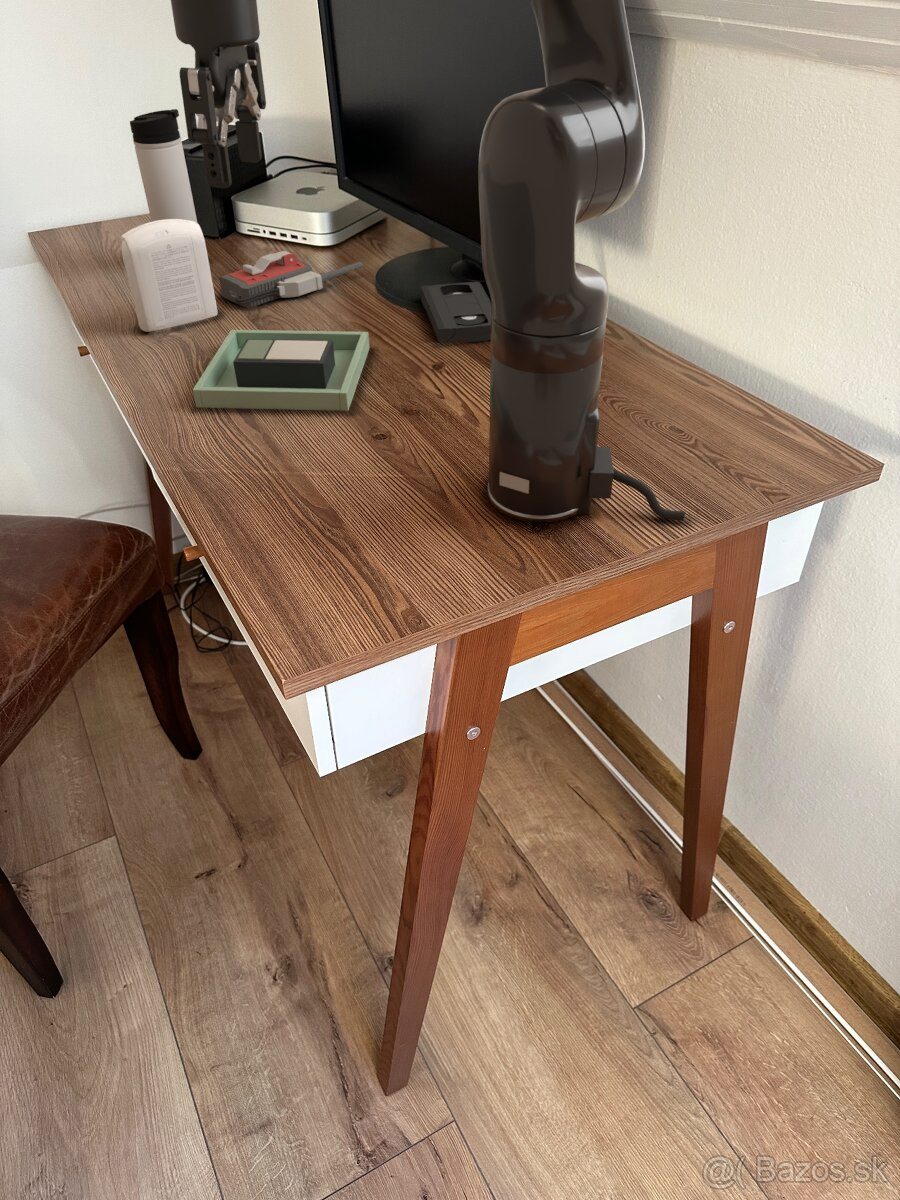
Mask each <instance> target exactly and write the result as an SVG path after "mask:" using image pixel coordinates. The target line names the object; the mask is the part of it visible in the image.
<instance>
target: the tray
mask: <svg viewBox="0 0 900 1200" xmlns="http://www.w3.org/2000/svg"><path fill="white" fill-rule="evenodd" d="M246 339H280V340H333V348H334V357H335V366H334V369H333V372H332V374H331V377H330V379H329V382H328V384H327V387H326V388H279V387H238V386H237V380H236V375H235V370H234V364H233V361H234V359H235V358H236V356H237V354H238V353H239V351H240V349H241V348H242V346H243V344H244V343H245V341H246ZM369 351H370V335H369V332H368V331H342V330H341V331H338V330H337V331H335V330H283V329H282V330H280V329H279V330H277V329H274V330H273V329H230V331H229V333H228V334H227V336H226V337H225V338H224V340H223V342H222V343H221V345H220V346H219V347H218V350H216V353H215V354H214V355H213V357H212V358H211V360H210V362H209V363H208V365H207V367H206V368H205V369H204V371H203V373H202V375H201V376H200V377H199V379H198V381H197V382H196V383H195V385H194V387H193V389H192V394H193V398H194V403H195V407H196V408H205V409H207V408H208V409H209V408H211V409H255V410H256V409H258V410H259V409H260V410H295V411H297V410H300V411H301V410H303V411H304V410H305V411H350V407H351V404H352V402H353V399H354V395H355V392H356V389H357V386H358V384H359V381H360V377H361V375H362V372H363V370H364V366H365V363H366V361H367V358H368V354H369Z"/></svg>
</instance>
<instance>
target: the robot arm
mask: <svg viewBox="0 0 900 1200" xmlns="http://www.w3.org/2000/svg"><path fill="white" fill-rule="evenodd" d="M257 1H258V0H170V6H171V11H172V18H173V23H174V24H173V25H174V31H175V36H176V38H177V40H178V41H180V42H181V43H182V44H185V45H189V46H190V47H192V49H193V50H194V67H180V68H179V82H180V88H181V96H182V104H183V110H184V118H185V125H186V133H187V139H188V141H189V143H192V144H193V143H194V144H198V145H199V146H201V147H202V153H203V154H202V155H203V161H204V168H205V174H206V180H207V181H206V182H207V184H208V186H209V187H210V188H216V189H228V188H230V186H232V184H233V179H232V173H231V165H230V164H231V163H230V157H229V149H228V144H227V141H228V129H229V125H230V124H231V123H233V122H234V119H236V121H235V122H234V126H235V133H236V142H237V147H238V148H237V149H238V157H239V159H240V161H241V162H243V163H250V164H257V163H259V162H260V161H261V160H262V158H263V155H262V146H261V144H262V143H261V136H260V127H259V122H258V121H260V120H261V117H262V112H261V110H265V109H266V107H267V100H266V99H267V98H266V91H265V84H264V83H265V82H264V75H263V74H264V73H263V68H262V67H263V66H262V60H261V59H262V58H261V51H260V45H259V43H258V42H257V41H258V39H259V38H260V35H261V32H260V22H259V13H258V2H257ZM529 1H530V4H531V8H532V11H533V14H534V18H535V22H536V27H537V31H538V36H539V41H540V48H541V54H542V55H541V56H542V61H543V69H544V79H545V86H543V87H539V88H534V89H529V90H525V91H521V92H517V93H513V94H512V95H509V96H507V97H505V98H503V99H502V100H501V101H500V102H498V104H496V105H495V106H494V108H493V109H492V110H491V112H490V114H489V116H488V117H487V119H486V122H485V125H484V126H483V127H484V128H483V131H482V134H481V140H480V143H479V144H480V145H479V153H478V166H477V168H478V169H477V174H478V175H477V176H478V178H477V179H478V203H479V226H480V250H481V252H480V253H481V264H482V272H483V277H484V280H485V283H486V286H487V289H488V293H489V296H490V301H491V340H490V367H489V429H488V430H489V431H488V432H489V433H488V435H489V440H488V443H489V444H488V457H489V458H488V474H487V475H488V476H487V477H488V479H487V480H488V483H487V498H488V501H489V502H490V504H491V505H492V506H493V507H494V509H496V510H497V511H498V512H500V513H502V514H503V515H505V516H507V517H509V518H512V519H515V520H519V521H521V522H527V523H528V522H529V523H538V524H539V523H554V522H560V521H564V520H567V519H570V518H573V517H574V516H576V515H589V514H591V508H592V500H593V499H608V500H609V499H610V500H611V499H612V492H613V482H614V481H616V482H618V483H621V484H623V485H626V486H628V487H630V488H632V489H634V490H635V491H637V492H638V493H640V494H641V495H642V496H643V497H644V498H645V500H646V502H647V504H648V505H649V508H650V509H651V511H652V512H653V513H654V514H655V515H657V516H658V517H659V518H661V519H664V520H668V521H681V522H684V521H685V516H686V511H683V510H669V509H666V508H664V507H663V506H662V505H661V504H660V503H659V501H658V499H657V496H656V495H655V493H654V491H653V490H652V489H651V488H650V487H649V486H647V484H645V483H644V482H642V481H641V480H639V479H637V478H635V477H633V476H631V475H629V474H626V473H624V472H622V471H619V470H618V469H615V468H614V464H613V456H612V448H611V446H598V440H599V439H598V438H599V430H600V411H599V398H600V390H601V388H600V387H601V378H602V367H603V360H604V359H603V358H604V349H605V339H606V338H605V337H606V328H607V319H608V318H607V317H608V309H609V300H610V299H609V298H610V290H609V283H608V281H607V279H606V277H605V276H604V275H603V274H602V273H601V272H599V270H597V269H595V268H593V267H591V266H588V265H586V264H583V263H580V262H576V225H580V224H581V223H585V222H587V221H590V220H594V219H597V218H599V217H602V216H605V215H608V214H611V213H612V212H614V211H616V210H618V209H620V208H621V207H622V206H624V205H625V204H626V203H627V202H628V201H629V200H630V198H631V197H632V196H633V194H634V193H635V190H636V189H637V187H638V185H639V183H640V180H641V178H642V177H641V176H642V173H643V168H644V161H645V155H646V135H645V133H646V132H645V123H644V122H645V121H644V113H643V107H642V99H641V94H640V88H639V83H638V77H637V70H636V65H635V59H634V54H633V49H632V43H631V36H630V31H629V26H628V25H629V24H628V19H627V14H626V7H625V1H624V0H529ZM196 116H197V117H198V120H197V118H196Z"/></svg>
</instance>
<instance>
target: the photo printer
mask: <svg viewBox="0 0 900 1200" xmlns="http://www.w3.org/2000/svg"><path fill="white" fill-rule="evenodd" d="M197 223H198V222H197ZM197 223H195V222H194V221H190V220H183V219H164V220H157V221H153V222H152V221H149V222H146V223H142V224H140V225H138V226H135V227H133V228H131V229H129V230H128V231H126V232H124V233H123V234H122V235H121V236H120V246H121V256H122V260H123V264H124V267H125V272H126V276H127V280H128V285H129V290H130V294H131V298H132V301H133V306H134V309H135V315H136V318H137V322H138V327H139V329H140V330H141V331H143V332H146V333H150V332H157V331H162V330H166V329H170V328H174V327H180V326H183V325H187V324H191V323H194V322H200V321H202V320H207V319H210V318H214V317H216V316H218V313H219V311H218V305H217V301H216V294H215V289H214V284H213V278H212V273H211V267H210V266H211V265H210V261H209V255H208V250H207V246H206V240H205V237H204V234H203V230H202V228H201V226H200V224H199V223H198V224H197Z"/></svg>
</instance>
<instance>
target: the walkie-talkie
mask: <svg viewBox="0 0 900 1200" xmlns="http://www.w3.org/2000/svg"><path fill="white" fill-rule="evenodd" d="M363 267H364V265H363V262H361V261H356V262H354V263H351V264H348V265H344V266H342V267H339V268H336V269H333V270H330V271H326V272H321V273H317V272H315V271H313V267H312V265H311V264H310V263H309V262H306V261H303V260H301V259H298V257H297V255H295V254H293V253H291V252H289V251H286V250H279V251H276V252H274V253H269V254H265V255H263V256H260V257H259V259H258V260H257V261H256V262H255V264H254V265H250V264H249V263H247V264H243V265H242V269H240V270H237V271H234V272H230V273H226V274H224V275H221V276H219V277H218V280H219V285H220V291H221V296H222V298H224V299H226V300H227V301H229V302H232V303H234V304H236V305H237V306H240V307H257V306H258V307H259V306H260V305H263V304H266V303H269V302H272V301H275V300H278V299H281V298H282V299H283V298H284V299H285V298H296V297H297V298H298V297H301V296H304V295H307V294H310V293H313V292H316V291H320V290H322V289H323V288H324V287H323V284H325V283H327V282H328V281H332V280H333V279H336V278H340V277H343V276H345V275H348V274H349V273H350V272H351V271H354V270H357V269H359V268H363Z"/></svg>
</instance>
